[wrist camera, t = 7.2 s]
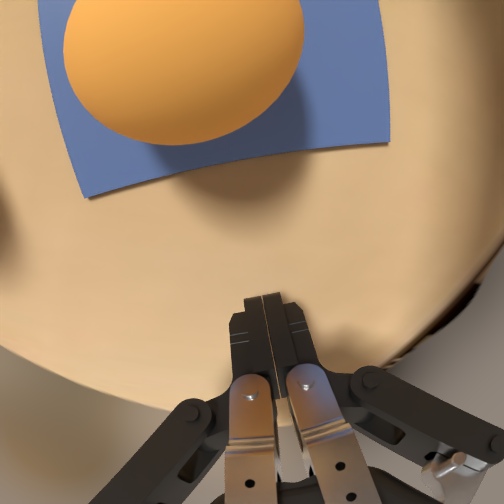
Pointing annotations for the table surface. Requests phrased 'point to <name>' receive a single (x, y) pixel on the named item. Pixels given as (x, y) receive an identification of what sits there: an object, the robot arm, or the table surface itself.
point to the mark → (259, 129)
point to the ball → (181, 63)
